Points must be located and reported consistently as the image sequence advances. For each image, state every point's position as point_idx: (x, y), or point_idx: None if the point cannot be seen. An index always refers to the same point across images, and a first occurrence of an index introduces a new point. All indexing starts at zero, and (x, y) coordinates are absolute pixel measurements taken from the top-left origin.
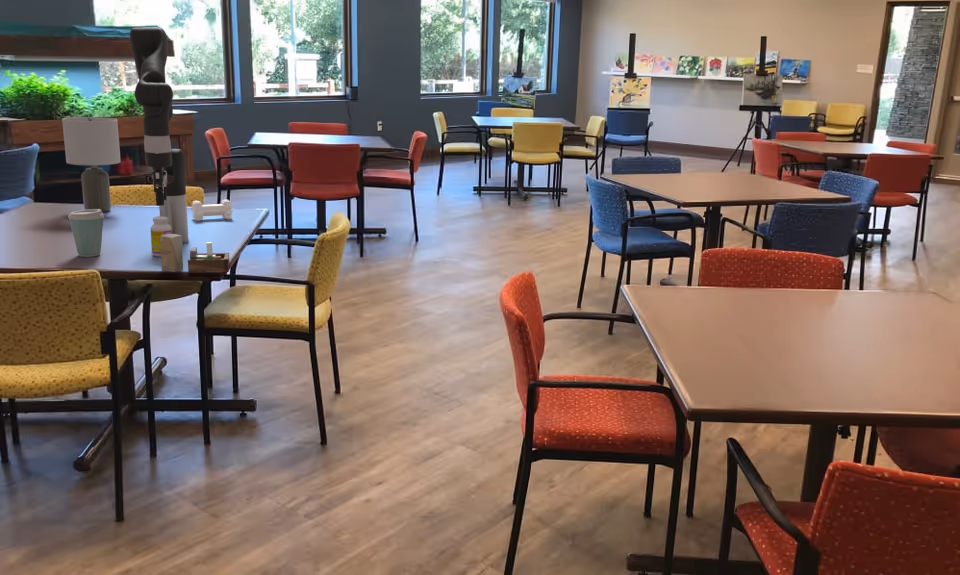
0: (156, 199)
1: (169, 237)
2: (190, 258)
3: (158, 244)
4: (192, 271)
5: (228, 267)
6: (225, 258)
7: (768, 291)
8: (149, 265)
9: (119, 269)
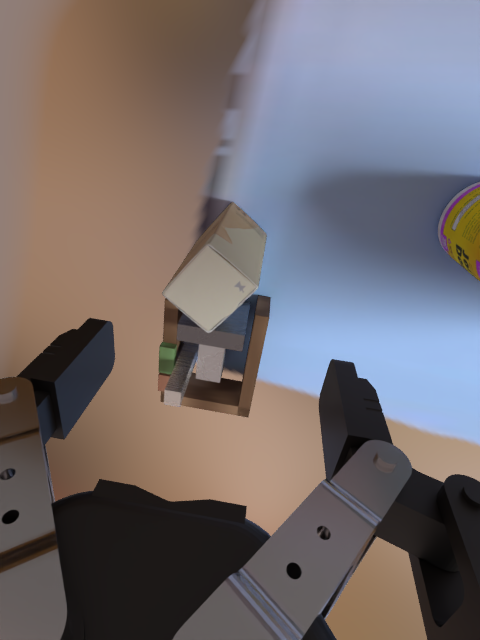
0: (67, 345)
1: (171, 281)
2: None
3: (467, 218)
4: None
5: None
6: None
7: None
8: (316, 159)
9: (282, 18)
